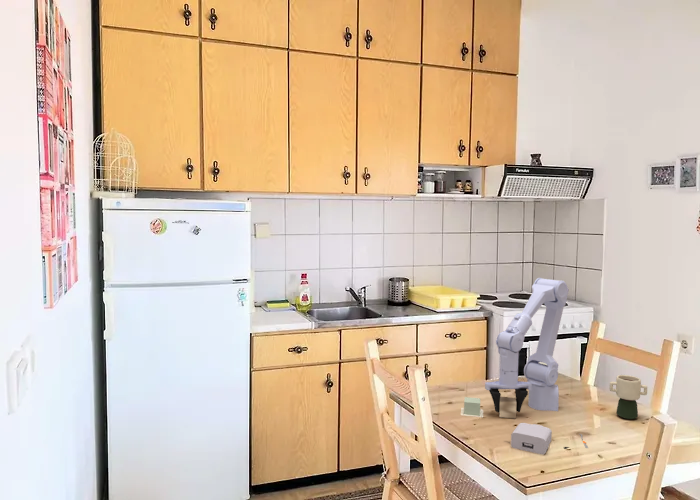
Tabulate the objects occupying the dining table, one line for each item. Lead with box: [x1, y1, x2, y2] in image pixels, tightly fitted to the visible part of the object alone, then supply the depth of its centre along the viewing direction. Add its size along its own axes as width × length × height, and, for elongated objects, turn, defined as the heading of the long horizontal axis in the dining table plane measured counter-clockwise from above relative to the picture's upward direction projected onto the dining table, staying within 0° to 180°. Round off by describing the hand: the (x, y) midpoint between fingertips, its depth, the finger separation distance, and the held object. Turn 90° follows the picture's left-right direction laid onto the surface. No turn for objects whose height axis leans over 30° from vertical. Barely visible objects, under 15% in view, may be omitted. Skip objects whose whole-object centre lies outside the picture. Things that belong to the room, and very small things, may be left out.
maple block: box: [498, 396, 517, 420], centre depth 173 cm, size 5×5×5 cm
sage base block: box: [463, 396, 481, 416], centre depth 176 cm, size 5×5×4 cm
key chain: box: [563, 433, 589, 450], centre depth 156 cm, size 13×7×1 cm, turn 162°
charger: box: [510, 422, 553, 456], centre depth 156 cm, size 5×9×15 cm
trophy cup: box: [609, 374, 648, 420], centre depth 176 cm, size 11×7×13 cm, turn 68°
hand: (507, 411), depth 173 cm, fingers closed on maple block, 6 cm apart
